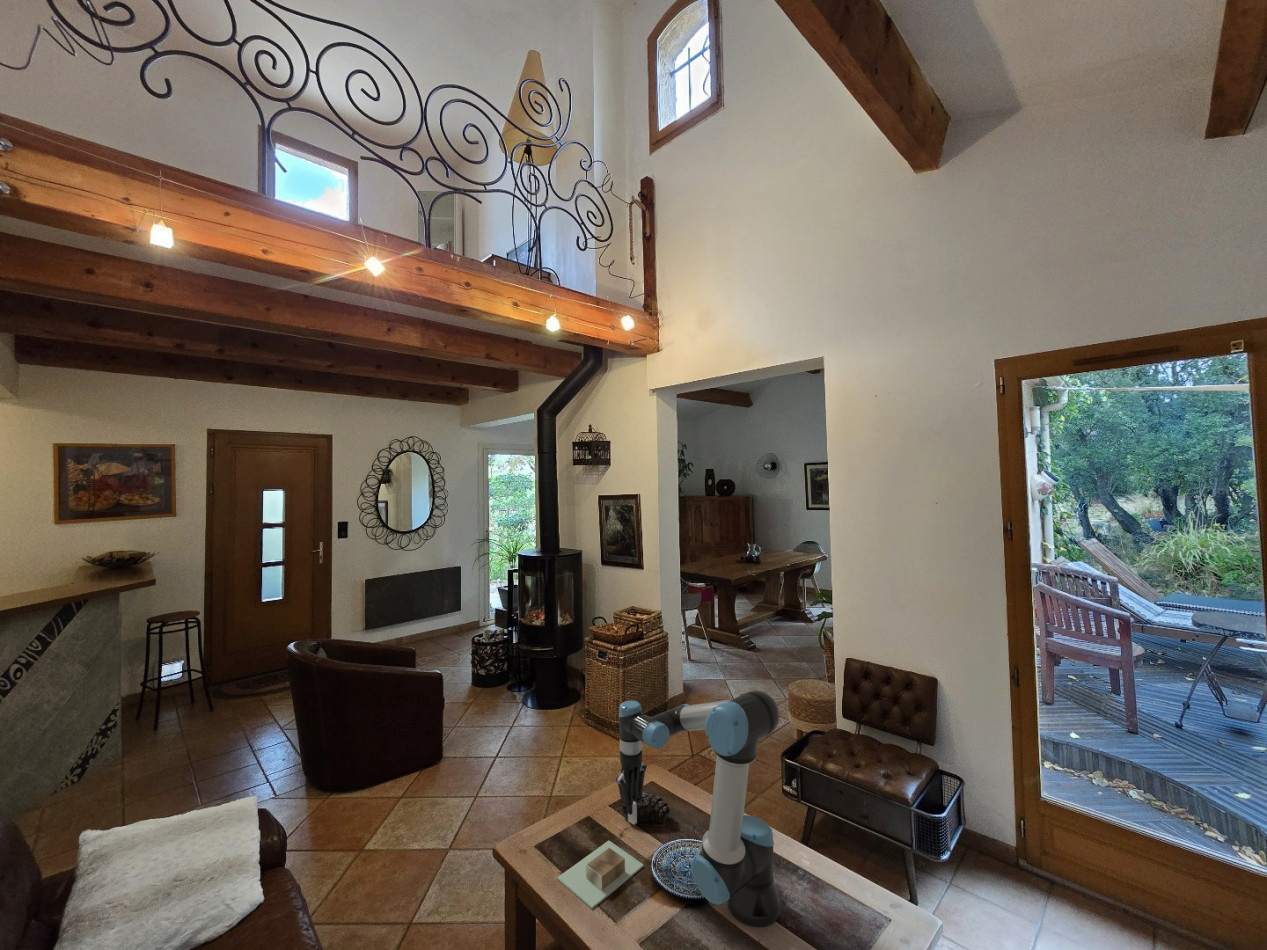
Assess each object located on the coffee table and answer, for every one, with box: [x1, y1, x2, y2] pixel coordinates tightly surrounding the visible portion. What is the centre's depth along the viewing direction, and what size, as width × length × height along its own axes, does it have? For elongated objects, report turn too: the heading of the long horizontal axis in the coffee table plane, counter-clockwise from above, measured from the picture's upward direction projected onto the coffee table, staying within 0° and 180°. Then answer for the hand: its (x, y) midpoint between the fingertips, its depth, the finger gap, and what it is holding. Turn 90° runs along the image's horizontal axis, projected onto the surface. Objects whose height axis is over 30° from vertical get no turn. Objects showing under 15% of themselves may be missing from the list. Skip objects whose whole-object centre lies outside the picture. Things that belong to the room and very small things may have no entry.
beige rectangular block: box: [586, 848, 625, 891], centre depth 156 cm, size 7×4×10 cm
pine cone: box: [621, 789, 671, 827], centre depth 184 cm, size 10×18×10 cm, turn 84°
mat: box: [556, 840, 644, 910], centre depth 158 cm, size 16×22×1 cm
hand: (632, 821), depth 168 cm, fingers closed
